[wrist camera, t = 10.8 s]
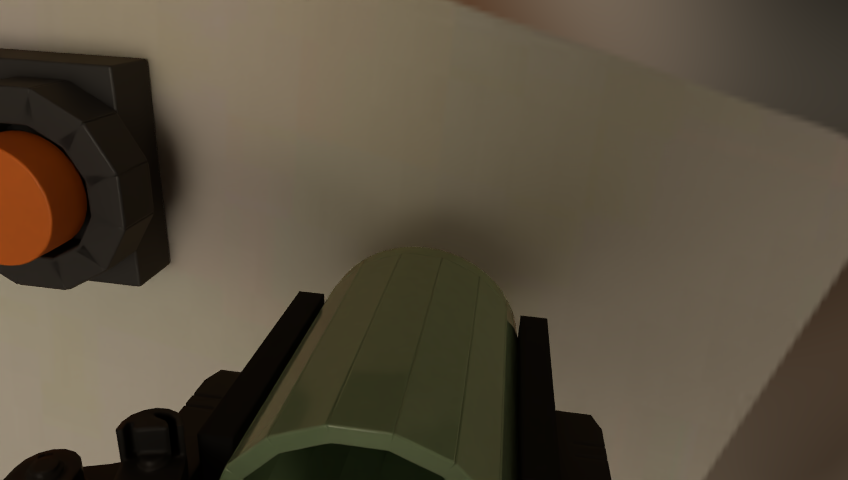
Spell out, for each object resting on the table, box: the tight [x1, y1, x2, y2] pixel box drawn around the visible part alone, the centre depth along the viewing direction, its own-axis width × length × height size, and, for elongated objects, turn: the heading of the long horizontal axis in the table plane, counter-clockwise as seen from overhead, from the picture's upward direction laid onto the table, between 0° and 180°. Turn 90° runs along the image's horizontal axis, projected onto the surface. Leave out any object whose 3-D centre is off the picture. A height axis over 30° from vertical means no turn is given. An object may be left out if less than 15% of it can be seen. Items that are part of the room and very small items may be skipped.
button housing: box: [0, 49, 170, 290], centre depth 22 cm, size 11×8×4 cm
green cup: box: [219, 247, 518, 480], centre depth 15 cm, size 6×6×8 cm
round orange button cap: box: [0, 130, 87, 266], centre depth 20 cm, size 4×4×2 cm
